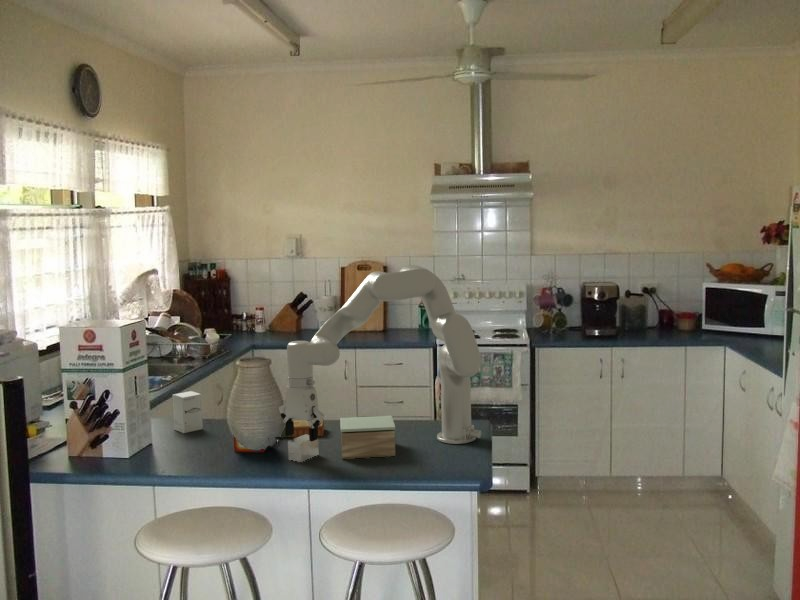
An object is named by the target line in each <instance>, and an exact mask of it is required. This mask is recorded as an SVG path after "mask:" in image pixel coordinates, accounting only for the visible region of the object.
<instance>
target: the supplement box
mask: <svg viewBox="0 0 800 600" xmlns="http://www.w3.org/2000/svg"><path fill="white" fill-rule="evenodd" d="M171 397H172V411H173V430H175V431H177V432H179V433H181V434H186V433H191V432H196V431H201V430H203V427H204V425H203V408H202V406H203V405H202V394H201V393H199V392H196V391H192V390H191V391H184V392H180V393H179V392H178V393H173V394H172V396H171Z"/></svg>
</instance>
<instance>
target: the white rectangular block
mask: <svg viewBox="0 0 800 600" xmlns="http://www.w3.org/2000/svg"><path fill="white" fill-rule="evenodd" d="M287 449H288V452H287V453H288V454H287V455H288V461H291V460H293V462H295V461H297V462H296V463H300V462H302V463H304V462H306V461H305V460H307V459H309V460H311V459H313V458H312V457H314V456H316V457H318V456H317V455H319V438H318V439H317V440H314V441H312V442H311V441H310V440H309V435H307V434H305V435H302V436H300V437H293V438H291V439H289V440H287ZM319 456H320V455H319ZM310 458H311V459H310ZM314 458H315V457H314ZM303 461H304V462H303ZM307 461H308V460H307Z"/></svg>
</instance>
